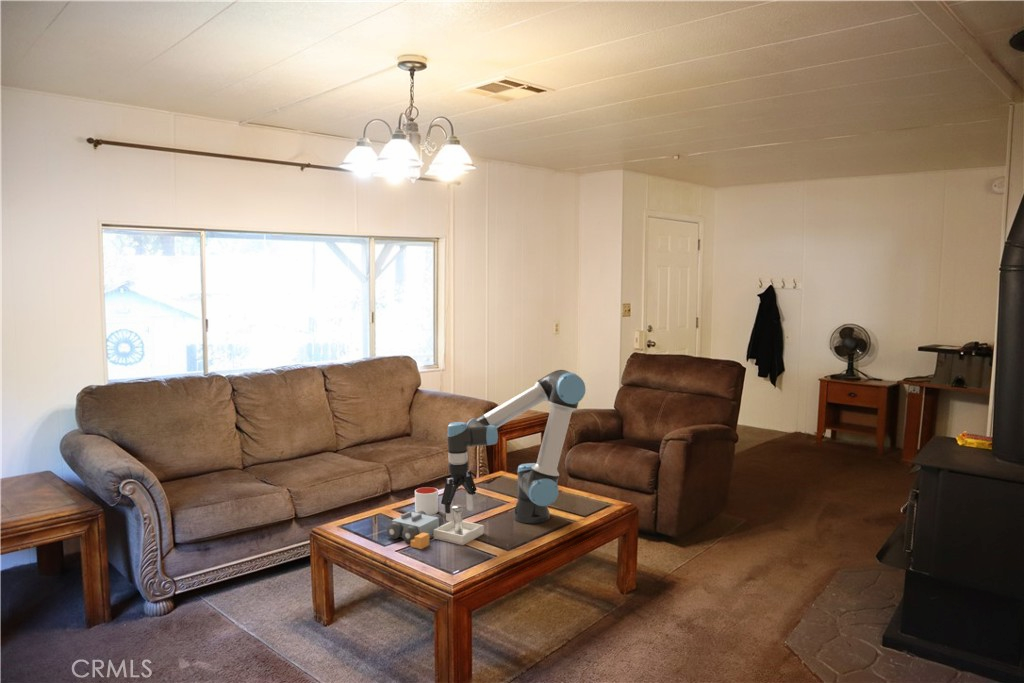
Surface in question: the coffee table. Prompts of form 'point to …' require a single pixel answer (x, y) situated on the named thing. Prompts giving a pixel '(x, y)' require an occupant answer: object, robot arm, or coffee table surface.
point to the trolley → (413, 525)
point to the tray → (448, 534)
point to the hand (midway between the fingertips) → (460, 515)
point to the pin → (458, 519)
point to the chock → (420, 541)
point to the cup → (426, 500)
